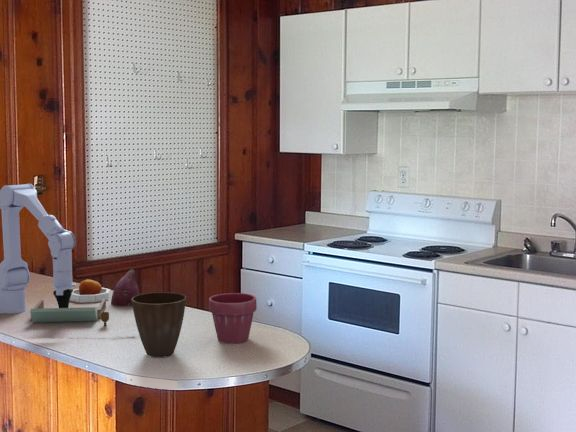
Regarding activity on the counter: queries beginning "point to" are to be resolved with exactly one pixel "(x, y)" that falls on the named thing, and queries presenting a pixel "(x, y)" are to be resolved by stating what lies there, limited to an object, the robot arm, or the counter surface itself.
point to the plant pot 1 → (159, 321)
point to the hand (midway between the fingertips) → (63, 312)
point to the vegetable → (125, 290)
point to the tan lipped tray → (98, 309)
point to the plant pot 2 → (232, 316)
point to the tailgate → (63, 314)
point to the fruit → (89, 287)
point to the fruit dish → (90, 296)
